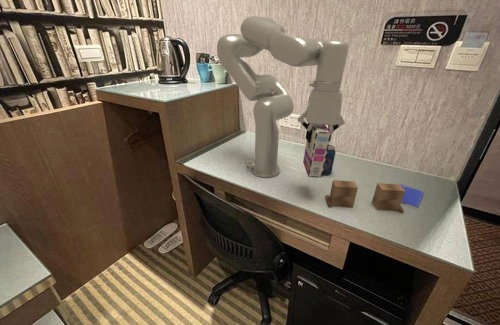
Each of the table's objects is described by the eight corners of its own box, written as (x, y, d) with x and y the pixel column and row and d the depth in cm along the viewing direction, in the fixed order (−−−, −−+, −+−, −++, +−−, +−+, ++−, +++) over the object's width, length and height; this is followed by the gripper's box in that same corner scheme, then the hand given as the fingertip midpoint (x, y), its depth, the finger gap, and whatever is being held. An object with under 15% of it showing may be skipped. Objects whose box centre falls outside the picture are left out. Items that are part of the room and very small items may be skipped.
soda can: (313, 174, 102) (317, 148, 97) (316, 167, 108) (320, 142, 102) (330, 177, 99) (335, 151, 94) (332, 170, 105) (337, 145, 100)
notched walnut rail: (328, 207, 82) (332, 187, 78) (325, 197, 87) (328, 178, 83) (403, 213, 79) (410, 193, 76) (395, 202, 85) (402, 183, 81)
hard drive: (400, 183, 94) (391, 197, 86) (424, 191, 89) (417, 206, 81) (399, 187, 95) (390, 200, 86) (423, 195, 90) (416, 210, 81)
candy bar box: (322, 178, 81) (332, 132, 73) (307, 177, 81) (315, 132, 73) (315, 162, 90) (323, 121, 83) (302, 162, 90) (308, 120, 83)
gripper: (299, 87, 69) (292, 144, 78) (360, 90, 68) (345, 148, 76) (297, 82, 76) (291, 136, 84) (353, 85, 74) (340, 139, 83)
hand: (317, 141), depth 80 cm, fingers closed on candy bar box, 5 cm apart
